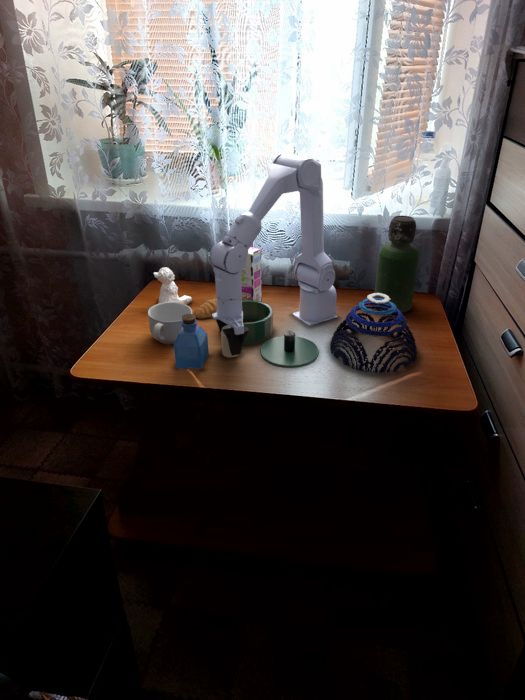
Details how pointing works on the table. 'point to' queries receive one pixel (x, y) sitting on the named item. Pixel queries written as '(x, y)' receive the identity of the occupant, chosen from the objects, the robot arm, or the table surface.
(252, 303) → the pot
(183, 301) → the seated beast figurine
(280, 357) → the lid
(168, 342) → the teacup
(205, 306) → the pastry
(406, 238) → the green bottle
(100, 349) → the table surface
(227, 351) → the salt shaker
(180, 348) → the perfume bottle
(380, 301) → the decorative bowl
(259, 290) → the candy bar box
